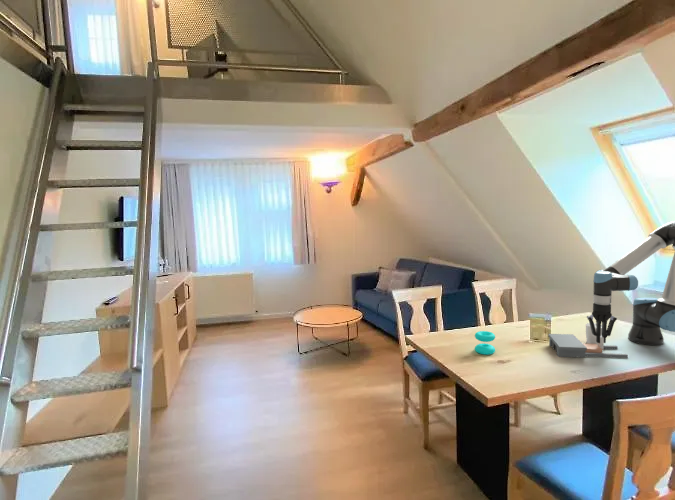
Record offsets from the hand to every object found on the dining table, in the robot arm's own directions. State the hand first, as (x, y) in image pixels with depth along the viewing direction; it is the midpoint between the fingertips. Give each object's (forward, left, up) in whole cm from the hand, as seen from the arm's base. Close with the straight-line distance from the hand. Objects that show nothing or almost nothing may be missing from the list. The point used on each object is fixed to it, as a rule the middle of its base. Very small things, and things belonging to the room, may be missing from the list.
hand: (600, 349), depth 206 cm
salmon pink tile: (+8, 0, -2) cm, 8 cm away
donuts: (+56, +5, -2) cm, 56 cm away
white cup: (-1, -13, -2) cm, 13 cm away
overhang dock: (+6, 0, -2) cm, 6 cm away
